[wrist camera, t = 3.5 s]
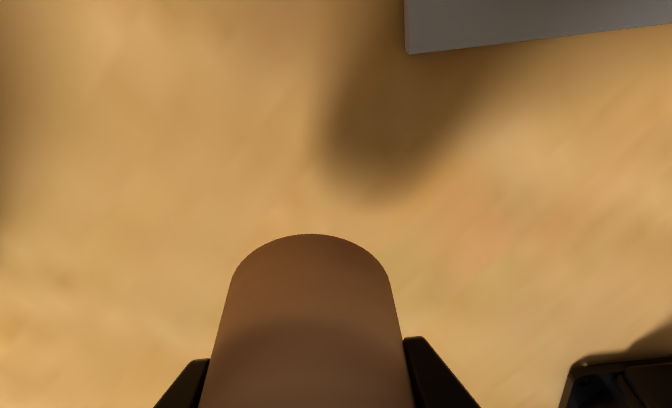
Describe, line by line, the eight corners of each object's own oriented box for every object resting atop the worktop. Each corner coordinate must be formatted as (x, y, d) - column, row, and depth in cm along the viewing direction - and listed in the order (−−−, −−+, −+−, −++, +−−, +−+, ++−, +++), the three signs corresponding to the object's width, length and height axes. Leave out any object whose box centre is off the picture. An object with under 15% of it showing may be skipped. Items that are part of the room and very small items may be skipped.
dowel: (393, 345, 11) (448, 624, 7) (248, 360, 11) (200, 646, 7) (387, 224, 9) (461, 507, 5) (210, 244, 9) (102, 541, 5)
